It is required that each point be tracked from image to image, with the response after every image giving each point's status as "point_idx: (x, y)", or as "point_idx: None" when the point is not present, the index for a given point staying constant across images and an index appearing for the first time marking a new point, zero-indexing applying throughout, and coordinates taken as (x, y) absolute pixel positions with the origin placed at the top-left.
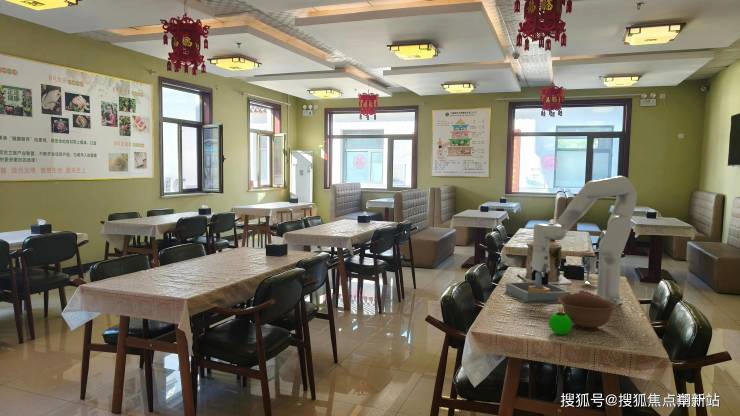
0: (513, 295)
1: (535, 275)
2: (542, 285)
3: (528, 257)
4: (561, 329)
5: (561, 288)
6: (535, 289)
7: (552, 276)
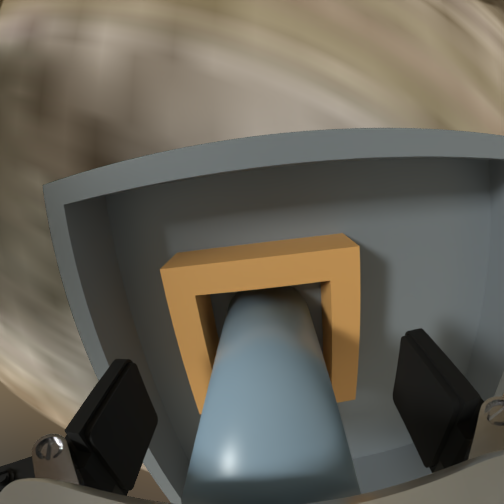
0: None
1: (123, 437)
2: (320, 349)
3: None
4: None
5: (438, 134)
6: (340, 400)
7: None
